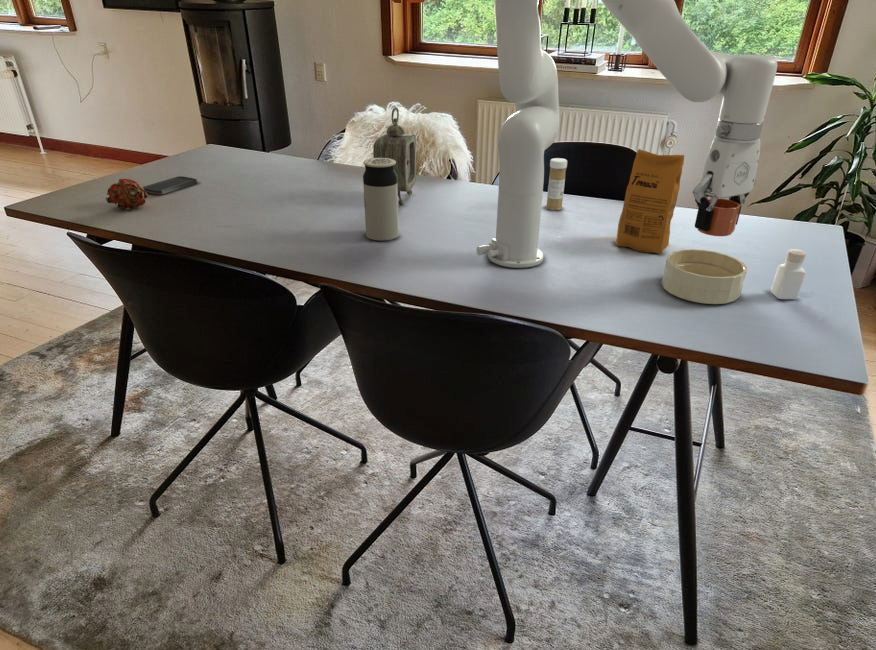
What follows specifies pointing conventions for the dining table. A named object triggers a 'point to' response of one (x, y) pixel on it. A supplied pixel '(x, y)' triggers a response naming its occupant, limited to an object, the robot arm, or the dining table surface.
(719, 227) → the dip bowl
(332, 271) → the dining table surface
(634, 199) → the coffee package
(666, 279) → the serving bowl
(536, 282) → the dining table surface
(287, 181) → the dining table surface
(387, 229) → the travel mug
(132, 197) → the brown knobby oval lump
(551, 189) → the sprinkles bottle
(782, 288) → the pepper shaker
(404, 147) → the weathered lantern
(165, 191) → the phone
